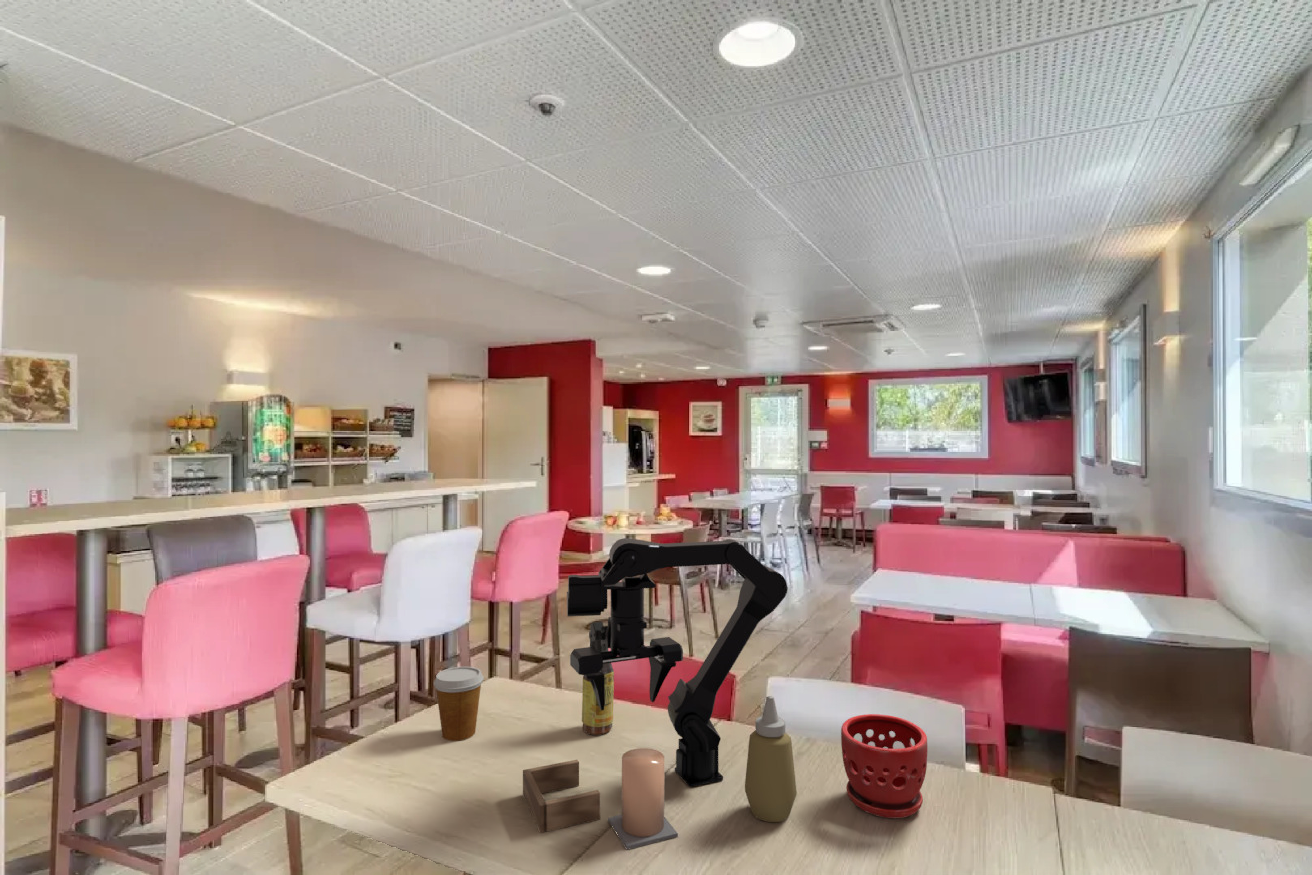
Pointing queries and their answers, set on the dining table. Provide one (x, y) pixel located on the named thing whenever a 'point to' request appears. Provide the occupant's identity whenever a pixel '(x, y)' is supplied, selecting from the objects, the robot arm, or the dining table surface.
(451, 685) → the disposable coffee cup
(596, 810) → the open u-shaped wooden holder
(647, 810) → the tan cylinder
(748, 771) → the squeeze bottle
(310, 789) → the dining table surface
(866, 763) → the plant pot
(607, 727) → the sauce bottle
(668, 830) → the rubber mat
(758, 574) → the robot arm
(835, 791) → the dining table surface
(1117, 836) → the dining table surface
